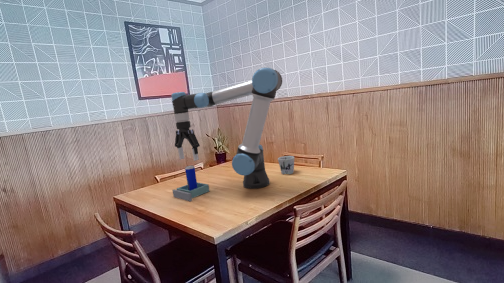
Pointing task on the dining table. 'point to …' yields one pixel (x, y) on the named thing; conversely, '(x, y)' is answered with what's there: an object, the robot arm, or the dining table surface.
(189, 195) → the block
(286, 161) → the mug
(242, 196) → the dining table surface
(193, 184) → the beverage can
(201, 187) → the teal open drawer
